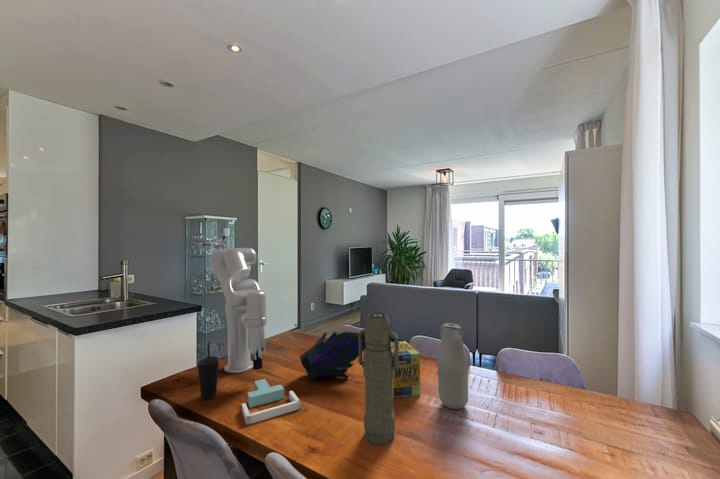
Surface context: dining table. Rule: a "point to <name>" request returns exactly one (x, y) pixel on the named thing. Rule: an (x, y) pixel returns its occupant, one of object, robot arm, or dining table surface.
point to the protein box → (406, 372)
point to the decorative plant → (332, 355)
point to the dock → (271, 410)
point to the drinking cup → (208, 375)
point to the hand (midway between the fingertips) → (257, 368)
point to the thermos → (378, 378)
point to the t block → (264, 393)
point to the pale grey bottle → (452, 367)
